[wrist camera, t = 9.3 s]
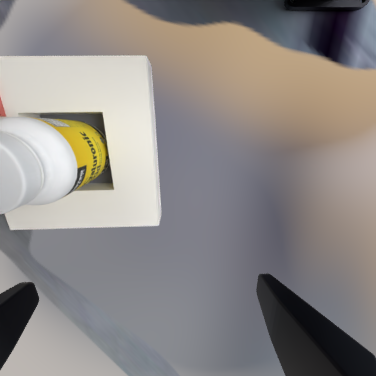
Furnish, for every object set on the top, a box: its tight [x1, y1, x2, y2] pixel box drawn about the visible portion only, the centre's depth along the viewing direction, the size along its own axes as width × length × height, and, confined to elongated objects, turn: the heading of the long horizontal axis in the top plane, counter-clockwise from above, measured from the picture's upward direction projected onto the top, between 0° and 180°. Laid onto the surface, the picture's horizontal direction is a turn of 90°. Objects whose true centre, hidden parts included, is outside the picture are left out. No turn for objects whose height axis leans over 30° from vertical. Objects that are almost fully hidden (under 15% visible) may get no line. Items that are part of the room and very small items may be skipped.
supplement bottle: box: [0, 117, 110, 214], centre depth 13 cm, size 5×5×10 cm
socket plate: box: [0, 56, 161, 230], centre depth 16 cm, size 14×14×3 cm
